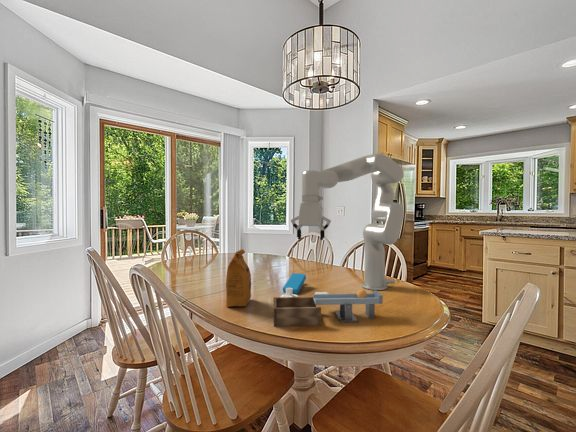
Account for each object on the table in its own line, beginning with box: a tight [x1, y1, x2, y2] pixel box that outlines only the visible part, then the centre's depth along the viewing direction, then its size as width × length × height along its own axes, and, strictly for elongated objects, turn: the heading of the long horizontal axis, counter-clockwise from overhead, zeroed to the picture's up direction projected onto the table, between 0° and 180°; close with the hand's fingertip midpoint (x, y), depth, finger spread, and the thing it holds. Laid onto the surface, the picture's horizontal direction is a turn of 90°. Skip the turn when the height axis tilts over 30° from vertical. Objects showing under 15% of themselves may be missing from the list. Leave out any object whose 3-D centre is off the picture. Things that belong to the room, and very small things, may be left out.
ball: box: [356, 288, 368, 298], centre depth 105 cm, size 4×4×4 cm
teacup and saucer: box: [280, 288, 299, 297], centre depth 128 cm, size 9×8×4 cm
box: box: [272, 296, 322, 327], centre depth 103 cm, size 16×12×6 cm
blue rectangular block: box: [282, 272, 307, 295], centre depth 142 cm, size 7×7×18 cm
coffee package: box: [225, 248, 252, 308], centre depth 119 cm, size 10×12×22 cm
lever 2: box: [312, 290, 384, 306], centre depth 108 cm, size 24×12×3 cm, turn 93°
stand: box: [334, 304, 376, 323], centre depth 105 cm, size 13×10×6 cm
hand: (310, 239), depth 125 cm, fingers open, 9 cm apart
